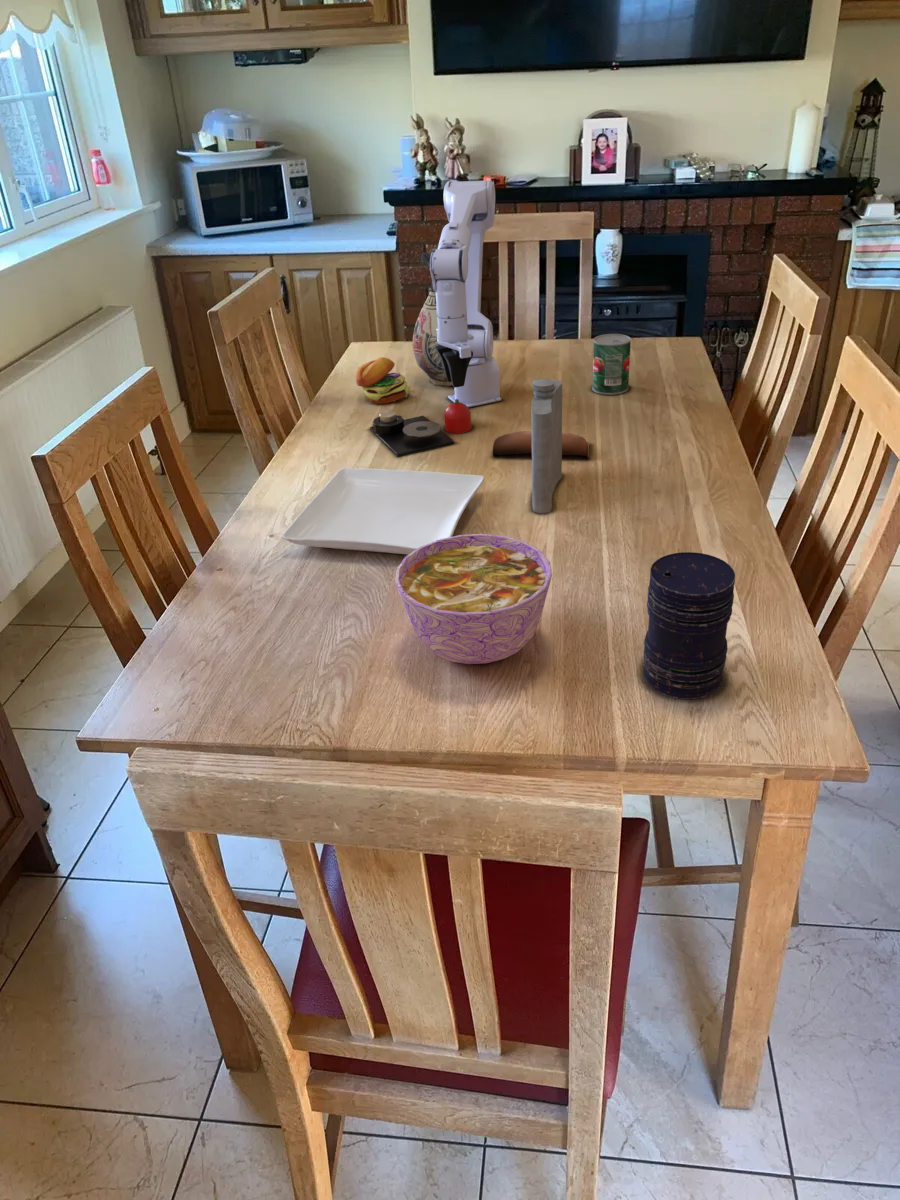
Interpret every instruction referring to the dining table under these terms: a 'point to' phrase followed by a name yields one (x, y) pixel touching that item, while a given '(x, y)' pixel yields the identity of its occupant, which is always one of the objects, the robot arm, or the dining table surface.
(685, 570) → the storage jar
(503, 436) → the sunglasses case
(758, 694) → the dining table surface
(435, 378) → the ceramic jug
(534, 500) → the hip flask
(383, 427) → the hob
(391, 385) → the cheeseburger
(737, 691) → the dining table surface
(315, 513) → the square plate
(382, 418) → the hob button
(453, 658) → the bowl of food
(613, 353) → the canned tomato
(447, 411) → the pepper
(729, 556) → the dining table surface
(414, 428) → the burner
